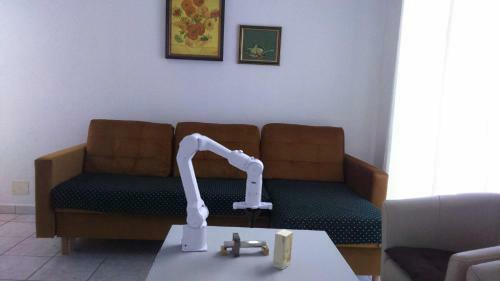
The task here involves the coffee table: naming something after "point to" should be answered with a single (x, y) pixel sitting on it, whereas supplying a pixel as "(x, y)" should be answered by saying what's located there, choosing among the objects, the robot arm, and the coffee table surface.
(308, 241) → the coffee table surface
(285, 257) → the skincare box
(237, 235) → the grey square collar
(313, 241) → the coffee table surface
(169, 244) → the coffee table surface
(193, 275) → the coffee table surface
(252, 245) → the pipe
